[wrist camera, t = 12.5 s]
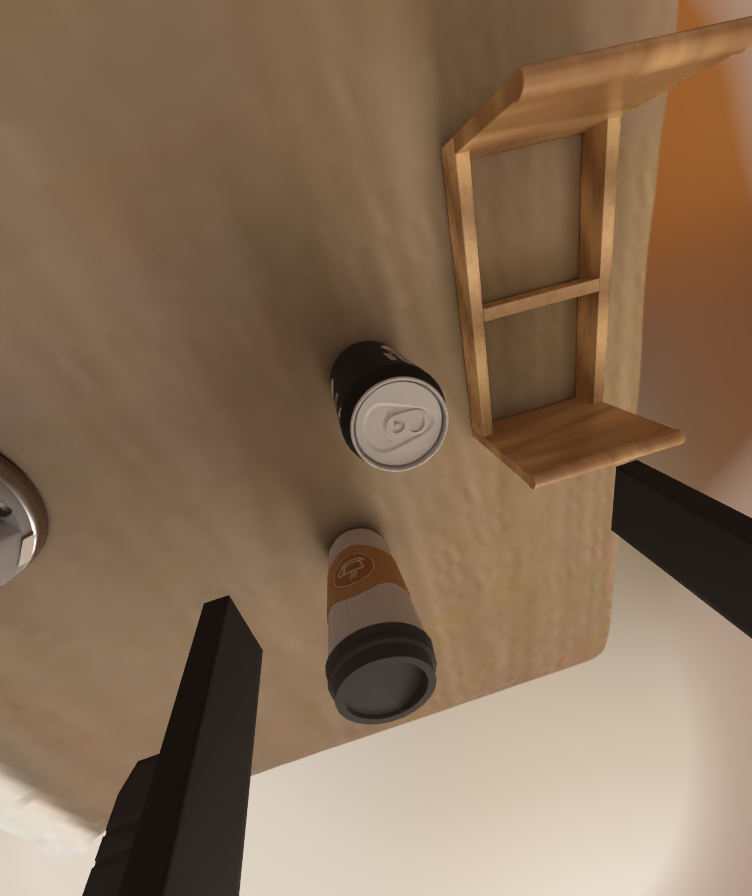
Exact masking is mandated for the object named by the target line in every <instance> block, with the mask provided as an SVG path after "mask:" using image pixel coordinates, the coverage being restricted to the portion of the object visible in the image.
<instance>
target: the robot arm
mask: <svg viewBox="0 0 752 896" xmlns="http://www.w3.org/2000/svg"><path fill="white" fill-rule="evenodd" d="M611 530H612V531H613V532H615V533H616V534H617V535H619V536H620V537H621V538H623V539H624V540H625V541H626V542H628V543H629V544H630V545H632V546H633V547H634V548H635V549H637V550H638V551H639V552H640V553H642V554H643V555H644V556H646V557H647V558H648V559H650V560H651V561H652V562H654V563H655V564H656V565H657V566H659V567H660V568H661V569H663V570H664V571H665V572H666V573H668V574H669V575H670V576H672V577H673V578H674V579H676V580H677V581H678V582H679V583H681V584H682V585H683V586H684V587H686V588H687V589H689V590H690V591H691V592H692V593H693V594H695V595H696V596H697V597H699V598H700V599H701V600H703V601H704V602H705V603H706V604H708V605H709V606H710V607H712V608H713V609H714V610H715V611H717V612H718V613H719V614H721V615H722V616H724V617H725V618H726V619H727V620H728V621H730V622H731V623H732V624H734V625H735V626H736V627H737V628H739V629H740V630H741V631H743V632H744V633H745V634H747V635H748V636H749V637H750V638H752V518H750V517H748V516H746V515H744V514H742V513H740V512H738V511H736V510H734V509H732V508H731V507H729V506H727V505H725V504H723V503H721V502H719V501H717V500H715V499H713V498H711V497H709V496H707V495H705V494H703V493H701V492H699V491H697V490H695V489H693V488H691V487H689V486H687V485H685V484H683V483H681V482H679V481H677V480H675V479H673V478H671V477H670V476H668V475H666V474H663V473H662V472H660V471H658V470H656V469H654V468H652V467H650V466H648V465H646V464H644V463H642V462H640V461H638V460H635V461H632V462H629V463H626V464H623V465H620V466H617V467H616V477H615V489H614V501H613V514H612V526H611ZM47 532H48V518H47V513H46V510H45V506H44V504H43V502H42V499H41V497H40V496H39V494H38V492H37V490H36V489H35V488H34V486H33V485H32V484H31V482H30V481H29V480H28V479H27V478H26V477H25V475H24V474H23V473H21V472H20V471H19V470H18V469H17V468H16V467H15V466H14V465H13V464H11V463H10V462H9V461H8V460H6V459H5V458H3V457H2V456H1V455H0V587H1V586H2V585H4V584H6V583H8V582H9V581H11V580H12V579H13V578H15V577H16V576H17V575H18V574H19V573H20V572H21V571H22V570H23V569H24V568H25V567H26V566H27V565H28V564H29V563H30V562H31V561H32V560H33V559H34V558H35V557H36V556H37V555H38V554H39V552H40V551H41V549H42V547H43V545H44V543H45V541H46V537H47ZM262 652H263V650H262V649H261V647H260V645H259V644H258V642H257V640H256V639H255V637H254V635H253V634H252V632H251V631H250V629H249V627H248V626H247V624H246V622H245V621H244V619H243V617H242V616H241V614H240V612H239V611H238V609H237V608H236V606H235V604H234V603H233V601H232V599H231V598H230V596H229V595H228V596H225V597H222V598H219V599H216V600H213V601H210V602H207V603H204V605H203V609H202V612H201V615H200V619H199V622H198V626H197V629H196V632H195V636H194V639H193V642H192V646H191V649H190V652H189V656H188V659H187V663H186V666H185V669H184V673H183V676H182V679H181V683H180V686H179V690H178V693H177V696H176V700H175V703H174V706H173V710H172V713H171V716H170V720H169V723H168V727H167V730H166V733H165V737H164V740H163V743H162V747H161V750H160V754H157V755H154V756H152V757H149V758H146V759H143V760H140V761H138V762H137V764H136V765H135V767H134V769H133V770H132V772H131V774H130V775H129V777H128V779H127V780H126V782H125V784H124V785H123V787H122V789H121V790H120V792H119V794H118V796H117V799H116V802H115V805H114V808H113V810H112V813H111V816H110V819H109V822H108V824H107V827H106V835H105V836H104V837H103V839H102V842H101V845H100V847H99V850H98V853H97V856H96V858H95V861H96V863H95V866H94V868H92V870H91V873H90V875H89V878H88V881H87V884H86V887H85V890H84V893H83V895H82V896H239V890H240V879H241V869H242V859H243V849H244V838H245V828H246V817H247V807H248V797H249V787H250V776H251V766H252V756H253V745H254V735H255V725H256V714H257V704H258V694H259V683H260V673H261V663H262Z"/></svg>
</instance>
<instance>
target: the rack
mask: <svg viewBox="0 0 752 896" xmlns="http://www.w3.org/2000/svg"><path fill="white" fill-rule="evenodd" d="M751 43H752V16H750V17H745V18H740V19H736V20H731V21H727V22H722V23H717V24H713V25H708V26H704V27H699V28H694V29H690V30H685V31H681V32H676V33H671V34H667V35H662V36H658V37H653V38H649V39H644V40H639V41H635V42H630V43H626V44H621V45H616V46H612V47H607V48H603V49H598V50H594V51H589V52H584V53H580V54H575V55H571V56H566V57H561V58H557V59H552V60H548V61H543V62H539V63H534V64H529V65H525V66H520V67H518V68H517V69H516V70H515V72H514V74H513V76H512V77H511V78H510V79H509V80H508V81H507V82H506V83H505V84H504V85H503V86H502V87H501V88H500V89H499V90H498V91H497V92H496V93H495V94H494V95H493V96H492V97H491V98H490V99H489V100H488V101H487V102H486V103H485V104H484V105H483V106H482V107H481V108H480V109H479V110H478V112H477V113H476V114H475V115H474V116H473V117H472V118H471V119H470V120H469V121H468V122H467V123H466V124H465V125H464V126H463V127H462V128H461V129H460V130H459V131H458V132H457V133H456V134H455V135H454V136H453V137H452V138H451V139H450V140H449V141H448V142H447V143H446V144H445V145H444V146H443V147H442V148H441V157H442V165H443V173H444V182H445V191H446V200H447V209H448V217H449V226H450V235H451V244H452V253H453V261H454V270H455V279H456V288H457V297H458V305H459V314H460V323H461V332H462V341H463V349H464V358H465V367H466V376H467V385H468V393H469V402H470V411H471V420H472V429H473V436H474V437H475V438H476V439H477V440H478V441H479V442H480V443H482V444H483V445H484V446H485V447H486V448H487V449H489V450H490V451H491V452H492V453H493V454H494V455H495V456H497V457H498V458H499V459H500V460H501V461H502V462H503V463H505V464H506V465H507V466H508V467H509V468H510V469H511V470H513V471H514V472H515V473H516V474H517V475H518V476H519V477H521V478H522V479H523V480H524V481H525V482H526V483H527V484H528V485H529V486H530V487H531V488H532V489H536V488H540V487H543V486H546V485H549V484H553V483H556V482H559V481H562V480H566V479H569V478H572V477H575V476H579V475H582V474H585V473H588V472H592V471H595V470H598V469H601V468H605V467H608V466H611V465H614V464H618V463H621V462H624V461H627V460H631V459H634V458H637V457H640V456H644V455H647V454H650V453H653V452H657V451H660V450H663V449H666V448H669V447H673V446H676V445H679V444H682V443H683V442H684V441H685V435H684V433H683V432H682V431H681V430H679V429H672V428H669V427H667V426H664V425H662V424H659V423H656V422H654V421H651V420H648V419H646V418H643V417H640V416H638V415H635V414H633V413H630V412H627V411H625V410H622V409H620V408H617V407H614V406H612V405H609V404H606V403H604V402H603V392H604V377H605V361H606V345H607V329H608V314H609V298H610V282H611V266H612V251H613V235H614V219H615V204H616V188H617V172H618V156H619V141H620V125H621V115H623V114H625V113H627V112H628V111H630V110H632V109H634V108H636V107H638V106H639V105H641V104H643V103H645V102H647V101H649V100H650V99H652V98H654V97H656V96H658V95H660V94H661V93H663V92H665V91H667V90H669V89H670V88H672V87H674V86H676V85H678V84H680V83H681V82H683V81H685V80H687V79H689V78H691V77H692V76H694V75H696V74H698V73H700V72H702V71H703V70H705V69H707V68H709V67H711V66H713V65H714V64H716V63H718V62H720V61H722V60H724V59H725V58H727V57H729V56H731V55H733V54H737V53H741V52H743V51H744V50H745V49H747V48H748V47H749V46H750V45H751ZM580 133H583V134H582V171H581V208H580V246H579V279H576V280H572V281H568V282H565V283H561V284H557V285H553V286H550V287H546V288H542V289H538V290H535V291H531V292H527V293H523V294H520V295H516V296H512V297H508V298H504V299H501V300H497V301H493V302H489V303H486V304H482V295H481V284H480V272H479V260H478V249H477V237H476V225H475V213H474V202H473V190H472V178H471V167H470V159H474V158H478V157H482V156H486V155H491V154H495V153H499V152H503V151H508V150H512V149H516V148H520V147H525V146H529V145H533V144H537V143H542V142H546V141H550V140H554V139H559V138H563V137H567V136H571V135H576V134H580ZM575 297H578V320H577V357H576V394H575V398H573V399H569V400H566V401H562V402H559V403H555V404H552V405H549V406H545V407H542V408H538V409H535V410H531V411H528V412H524V413H521V414H518V415H514V416H511V417H507V418H504V419H500V420H497V421H494V422H492V412H491V400H490V389H489V377H488V365H487V354H486V342H485V330H484V322H486V321H490V320H494V319H498V318H501V317H505V316H509V315H512V314H516V313H520V312H523V311H527V310H531V309H535V308H538V307H542V306H546V305H549V304H553V303H557V302H561V301H564V300H568V299H572V298H575Z"/></svg>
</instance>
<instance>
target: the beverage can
mask: <svg viewBox="0 0 752 896" xmlns="http://www.w3.org/2000/svg"><path fill="white" fill-rule="evenodd" d="M330 387H331V392H332V396H333V400H334V403H335V407H336V411H337V415H338V419H339V423H340V427H341V430H342V434H343V437H344V439H345V441H346V443H347V445H348V446H349V448H350V449H351V450H352V451H353V452H354V453H355V454H356V455H357V456H358V457H360V458H361V459H363V460H364V461H366V462H367V463H368V464H370V465H371V466H373V467H375V468H377V469H380V470H384V471H390V472H400V471H406V470H410V469H413V468H415V467H417V466H420V465H421V464H423V463H425V462H426V461H428V460H429V459H430V458H431V457H432V456H433V455H434V454H435V453H436V452H437V451H438V449H439V448H440V446H441V445H442V443H443V441H444V439H445V436H446V433H447V429H448V412H447V407H446V404H445V399H444V396H443V393H442V391H441V389H440V387H439V385H438V384H437V382H436V381H435V380H434V379H433V378H432V377H431V376H430V375H429V374H428V373H426V372H425V371H423V370H422V369H421V368H419V367H418V366H416V365H415V364H413V363H412V362H410V361H409V360H407V359H406V358H405V357H403V356H402V355H400V354H399V353H397V352H396V351H394V350H393V349H391V348H390V347H388V346H387V345H385V344H382V343H379V342H372V341H366V342H360V343H357V344H354V345H352V346H350V347H349V348H347V349H346V350H344V351H343V352H342V353H341V354H340V355H339V357H338V358H337V359H336V361H335V363H334V365H333V367H332V370H331V375H330Z"/></svg>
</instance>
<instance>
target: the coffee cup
mask: <svg viewBox="0 0 752 896" xmlns="http://www.w3.org/2000/svg"><path fill="white" fill-rule="evenodd" d="M327 621H328V660H327V663H326V666H325V667H326V677H327V680H328V689H329V692H330V694H331V696H332V698H333V700H335V705H336V707H337V709H338V711H339V713H340V714H341V715H342V716H344V717H345V718H346V719H348V720H350V721H353V722H355V723H361V724H381V723H387V722H392V721H394V720H397V719H400V718H403V717H405V716H407V715H409V714H411V713H412V712H414V711H416V710H417V709H418V708H420V707H421V706H422V705H423V704H424V703H425V702H426V701H427V700H428V699H429V698H430V697H431V695H432V693H433V691H434V689H435V686H436V675H435V672H436V665H437V662H436V658H435V654H434V651H433V645H432V641H431V639H430V638H429V636H428V635H427V634H426V632H425V631H424V629H423V626H422V624H421V622H420V619H419V617H418V615H417V613H416V610H415V608H414V606H413V603H412V600H411V597H410V594H409V592H408V589H407V587H406V585H405V583H404V580H403V578H402V576H401V573H400V571H399V569H398V567H397V564H396V562H395V560H394V559H393V557H392V555H391V552H390V550H389V548H388V545H387V543H386V541H385V540H384V539H383V537H382V536H380V535H379V534H378V533H376V532H374V531H372V530H369V529H364V528H358V529H352V530H349V531H346V532H345V533H343V534H341V535H340V536H339V537H338V538H337V539H336V540H335V542H334V543H333V545H332V546H331V548H330V551H329V554H328V582H327Z"/></svg>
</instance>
